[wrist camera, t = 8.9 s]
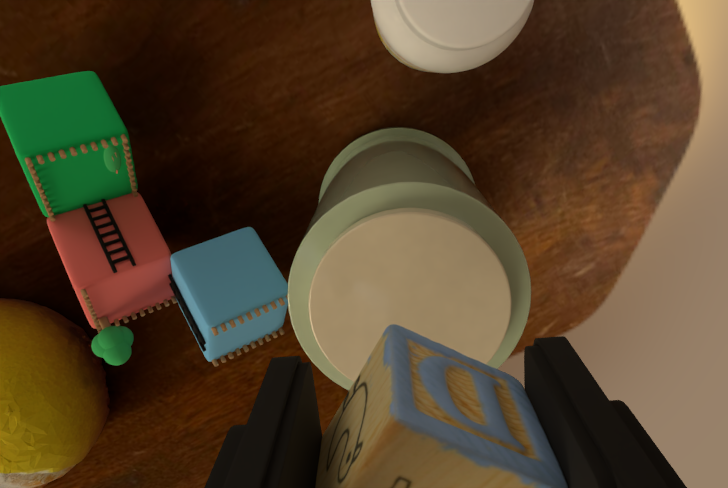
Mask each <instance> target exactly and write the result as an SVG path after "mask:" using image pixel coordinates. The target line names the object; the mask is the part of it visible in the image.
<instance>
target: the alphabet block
mask: <svg viewBox="0 0 728 488" xmlns="http://www.w3.org/2000/svg"><path fill="white" fill-rule="evenodd" d="M315 488H568V484H567V482H566V479H565V477H564V475H563V472H562V470H561V468H560V465H559V463H558V460H557V458H556V456H555V454H554V452H553V450H552V448H551V446H550V443H549V441H548V439H547V436H546V434H545V432H544V430H543V428H542V426H541V424H540V422H539V419H538V417H537V414H536V412H535V411H534V409H533V406H532V404H531V402H530V400H529V398H528V396H527V394H526V392H525V390H524V388H523V386H522V384H521V383H520V382H519V381H518V380H517V379H515V378H514V377H512V376H510V375H509V374H507V373H505V372H502V371H500V370H498V369H496V368H493V367H491V366H488V365H486V364H484V363H482V362H480V361H477V360H475V359H473V358H469V357H467V356H465V355H463V354H461V353H459V352H457V351H455V350H453V349H451V348H448V347H446V346H444V345H442V344H440V343H437V342H434V341H432V340H430V339H428V338H426V337H424V336H421V335H419V334H417V333H415V332H413V331H411V330H408V329H406V328H404V327H402V326H399V325H396V324H392V325H389V326H388V327H387V328H386V329H385V331H384V333H383V334H382V336H381V338H380V339H379V341H378V343H377V344H376V346H375V348H374V349H373V351H372V353H371V354H370V356H369V358H368V360H367V362H366V364H365V365H364V367H363V368H362V370H361V372H360V373H359V375H358V377H357V379H356V380H355V382H354V383H353V385H352V386H351V388H350V390H349V392H348V394H347V396H346V397H345V399H344V401H343V402H342V404H341V406H340V408H339V409H338V411H337V413H336V414H335V416H334V418H333V419H332V421H331V423H330V425H329V426H328V428H327V430H326V431H325V433H324V434H323V437H322V441H321V450H320V455H319V463H318V470H317V477H316V485H315Z"/></svg>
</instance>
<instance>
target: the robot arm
mask: <svg viewBox="0 0 728 488" xmlns="http://www.w3.org/2000/svg"><path fill="white" fill-rule="evenodd" d="M524 354H525V355H524V367H525V392H526V394H527V396H528V398H529V400H530V402H531V404H532V406H533V409H534V411H535V412H536V414H537V417H538V419H539V422H540V424H541V426H542V428H543V430H544V432H545V434H546V436H547V439H548V441H549V443H550V446H551V448H552V450H553V452H554V454H555V456H556V458H557V460H558V463H559V465H560V468H561V470H562V472H563V475H564V477H565V479H566V482H567V484H568V488H687V487H686V486H685V485H684V483H683V482H682V480H681V479H680V478H679V476H678V475H677V474H676V472H675V471H674V469H673V468H672V467H671V465H670V464H669V463H668V461H667V460H666V458H665V457H664V456H663V454H662V453H661V452H660V450H659V449H658V447H657V446H656V445H655V443H654V442H653V441H652V439H651V438H650V436H649V435H648V434H647V432H646V431H645V430H644V428H643V427H642V426H641V424H640V423H639V422H638V420H637V419H636V417H635V416H634V414H633V413H632V412H631V411H630V409H629V408H628V406H627V405H626V404H625V403H624V402H622V401H620V400H613V401H609V400H608V398H607V397H606V395H605V394H604V392H603V391H602V390H601V388H600V387H599V385H598V384H597V382H596V381H595V380H594V378H593V377H592V375H591V373H590V372H589V371H588V369H587V368H586V366H585V365H584V363H583V362H582V360H581V359H580V357H579V356H578V354H577V353H576V352H575V350H574V349H573V347H572V346H571V344H570V343H569V341H568V340H567V339H566V338H565V337H563V336H562V337H549V338H536V339H535V340H534V344H533V346H526V347H525V353H524ZM321 441H322V433H321V426H320V419H319V413H318V406H317V400H316V393H315V386H314V380H313V373H312V367H311V364H310V362H306V363H302V361H301V358H300V356H291V357H278V358H272V359H271V361H270V364H269V367H268V369H267V372H266V375H265V377H264V380H263V383H262V385H261V388H260V390H259V393H258V396H257V398H256V401H255V404H254V406H253V409H252V412H251V414H250V417H249V420H248V422H247V425H235V426H233V427H231V428H230V430H229V431H228V433H227V436H226V438H225V440H224V443H223V445H222V448H221V450H220V452H219V455H218V457H217V459H216V462H215V464H214V467H213V469H212V471H211V474H210V476H209V479H208V481H207V483H206V486H205V488H315V485H316V477H317V470H318V463H319V455H320V450H321Z"/></svg>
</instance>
